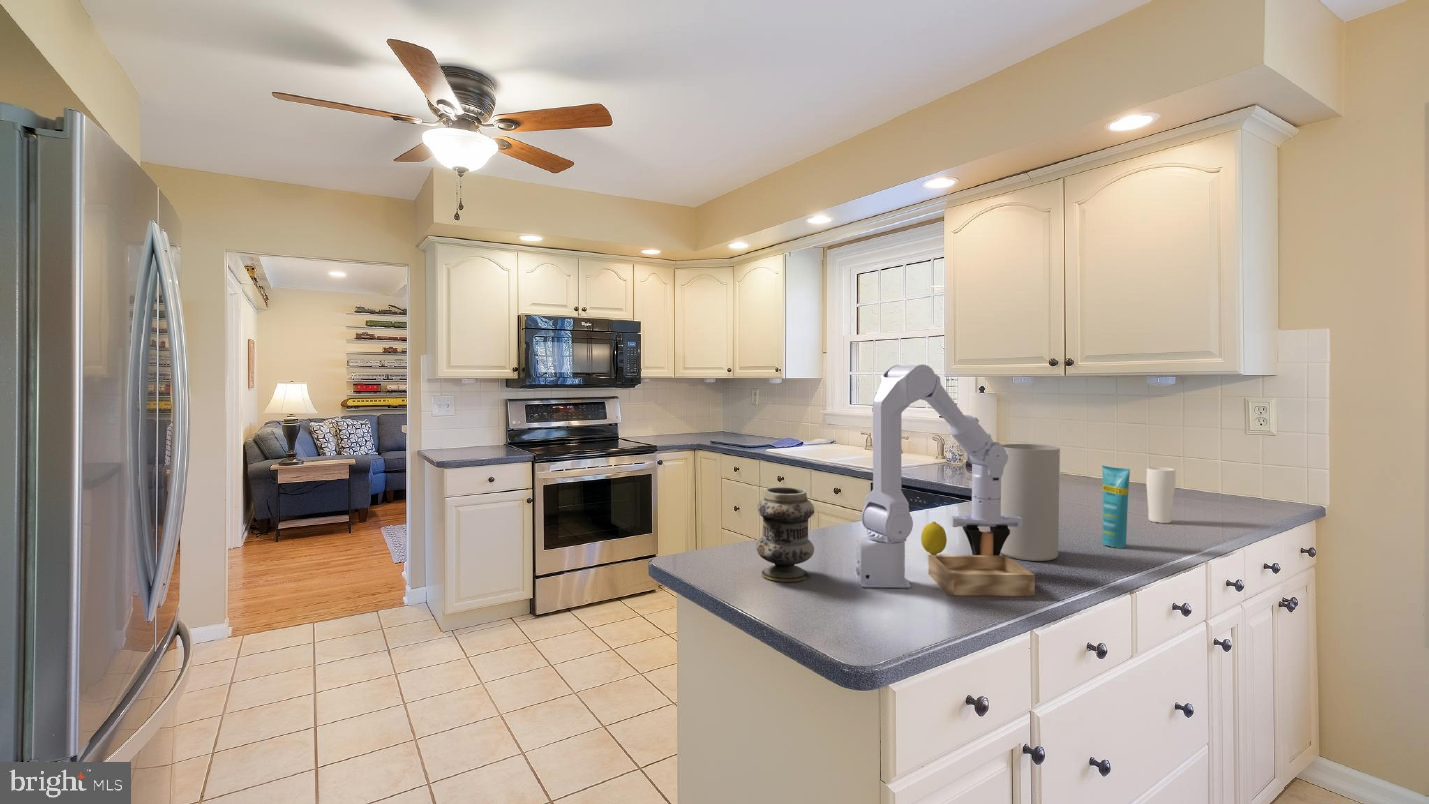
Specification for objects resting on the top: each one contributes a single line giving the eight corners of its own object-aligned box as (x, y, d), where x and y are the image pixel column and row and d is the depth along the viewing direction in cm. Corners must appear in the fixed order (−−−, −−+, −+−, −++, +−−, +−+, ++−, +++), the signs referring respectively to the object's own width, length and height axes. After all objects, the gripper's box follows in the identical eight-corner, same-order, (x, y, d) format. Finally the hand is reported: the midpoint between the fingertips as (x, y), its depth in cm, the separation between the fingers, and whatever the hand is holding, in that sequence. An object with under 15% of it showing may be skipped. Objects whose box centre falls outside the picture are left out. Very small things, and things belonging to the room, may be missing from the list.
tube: (1093, 543, 159) (1094, 465, 158) (1106, 541, 161) (1108, 464, 160) (1122, 550, 152) (1124, 469, 151) (1136, 548, 154) (1138, 468, 153)
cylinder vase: (1017, 544, 158) (1018, 442, 157) (1068, 556, 148) (1070, 447, 147) (986, 552, 151) (988, 446, 150) (1039, 565, 141) (1040, 451, 140)
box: (948, 595, 122) (948, 574, 122) (928, 573, 135) (928, 555, 135) (1034, 595, 121) (1034, 574, 121) (1006, 574, 134) (1006, 555, 134)
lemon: (948, 560, 145) (948, 524, 145) (922, 558, 146) (922, 523, 146) (944, 553, 151) (944, 519, 150) (919, 552, 152) (920, 518, 151)
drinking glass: (1173, 520, 182) (1174, 468, 182) (1175, 525, 176) (1176, 471, 176) (1144, 518, 186) (1145, 466, 185) (1145, 522, 180) (1146, 469, 179)
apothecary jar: (809, 586, 127) (809, 496, 127) (750, 581, 131) (749, 493, 130) (818, 569, 139) (818, 486, 138) (763, 564, 143) (763, 483, 142)
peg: (980, 571, 137) (981, 534, 136) (975, 567, 140) (976, 530, 139) (995, 571, 137) (995, 534, 136) (989, 567, 140) (990, 530, 139)
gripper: (1013, 493, 141) (1012, 555, 142) (945, 493, 142) (945, 554, 142) (1027, 499, 134) (1026, 564, 135) (956, 499, 135) (955, 564, 135)
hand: (985, 560), depth 138 cm, fingers open, 3 cm apart
